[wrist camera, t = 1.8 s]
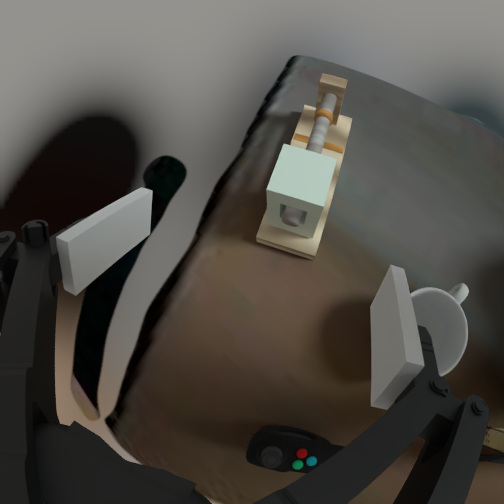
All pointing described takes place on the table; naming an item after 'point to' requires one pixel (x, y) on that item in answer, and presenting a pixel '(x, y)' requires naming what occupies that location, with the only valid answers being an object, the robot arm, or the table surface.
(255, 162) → the table surface
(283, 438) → the controller
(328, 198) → the lead screw slider
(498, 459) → the clutch purse
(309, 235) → the sleeve
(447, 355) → the teacup
